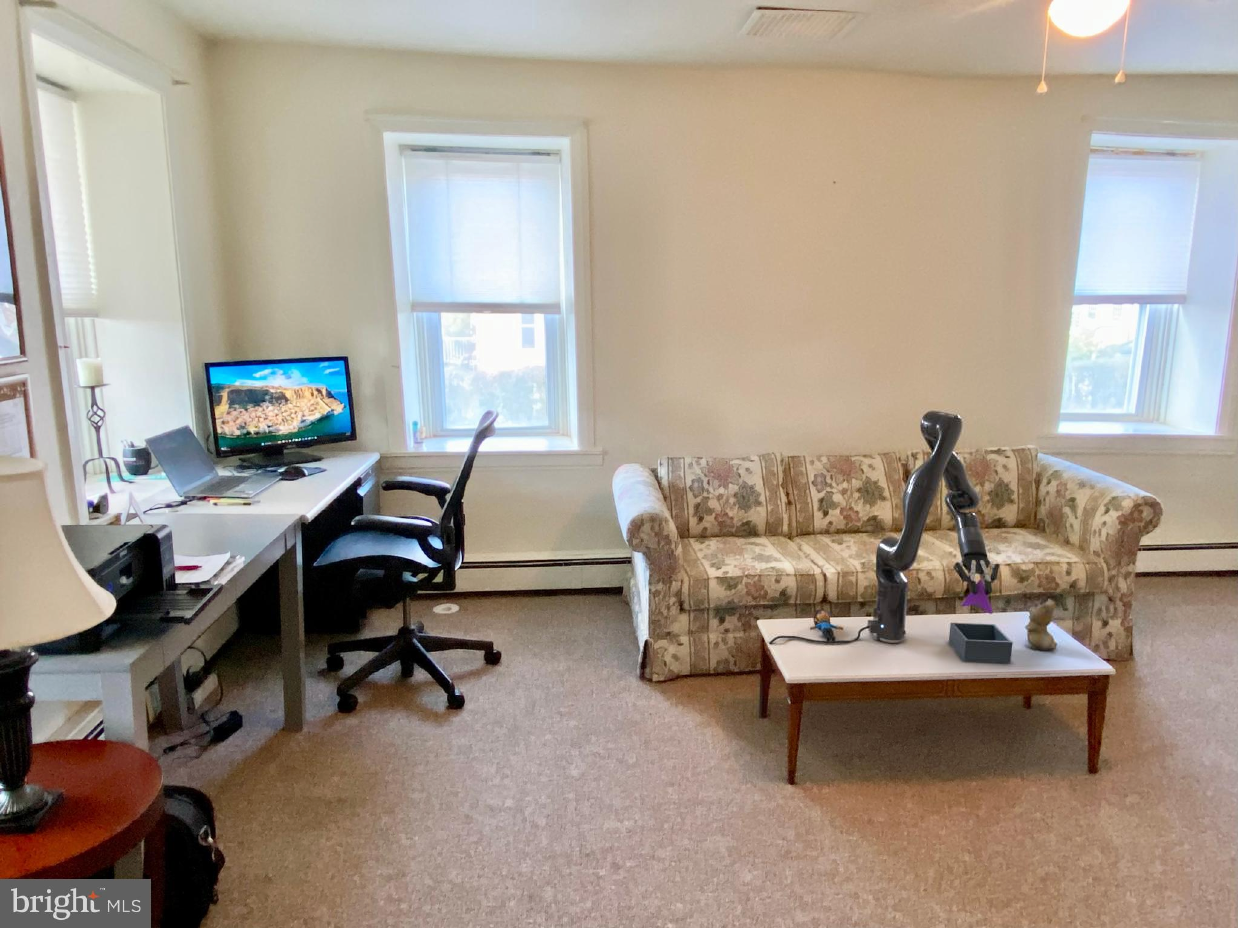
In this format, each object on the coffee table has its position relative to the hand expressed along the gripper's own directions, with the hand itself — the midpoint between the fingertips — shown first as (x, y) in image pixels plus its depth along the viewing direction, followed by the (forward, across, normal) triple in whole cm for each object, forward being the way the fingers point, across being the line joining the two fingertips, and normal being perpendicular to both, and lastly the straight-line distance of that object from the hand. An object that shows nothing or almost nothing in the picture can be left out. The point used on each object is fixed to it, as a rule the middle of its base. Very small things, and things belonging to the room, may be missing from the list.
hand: (982, 593), depth 232 cm
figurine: (+9, +21, +17) cm, 29 cm away
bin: (+14, 0, +12) cm, 19 cm away
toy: (+7, -45, +20) cm, 50 cm away
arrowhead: (+3, 0, +6) cm, 7 cm away
